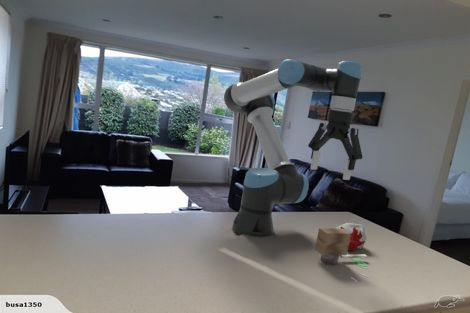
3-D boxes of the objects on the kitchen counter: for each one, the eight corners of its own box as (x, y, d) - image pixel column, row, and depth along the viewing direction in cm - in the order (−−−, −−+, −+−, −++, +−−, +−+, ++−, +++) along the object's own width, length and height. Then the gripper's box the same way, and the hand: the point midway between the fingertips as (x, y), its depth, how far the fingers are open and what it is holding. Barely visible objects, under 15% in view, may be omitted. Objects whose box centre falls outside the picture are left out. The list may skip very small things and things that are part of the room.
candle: (360, 242, 129) (366, 263, 114) (330, 235, 131) (332, 255, 116) (366, 221, 126) (373, 240, 112) (335, 214, 128) (338, 232, 114)
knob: (321, 265, 102) (327, 234, 100) (312, 257, 107) (318, 227, 105) (370, 264, 108) (377, 234, 106) (359, 256, 113) (365, 228, 111)
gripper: (383, 116, 102) (368, 184, 105) (319, 108, 122) (308, 165, 125) (369, 113, 97) (354, 184, 101) (305, 105, 117) (294, 165, 120)
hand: (329, 174), depth 113 cm, fingers open, 13 cm apart
